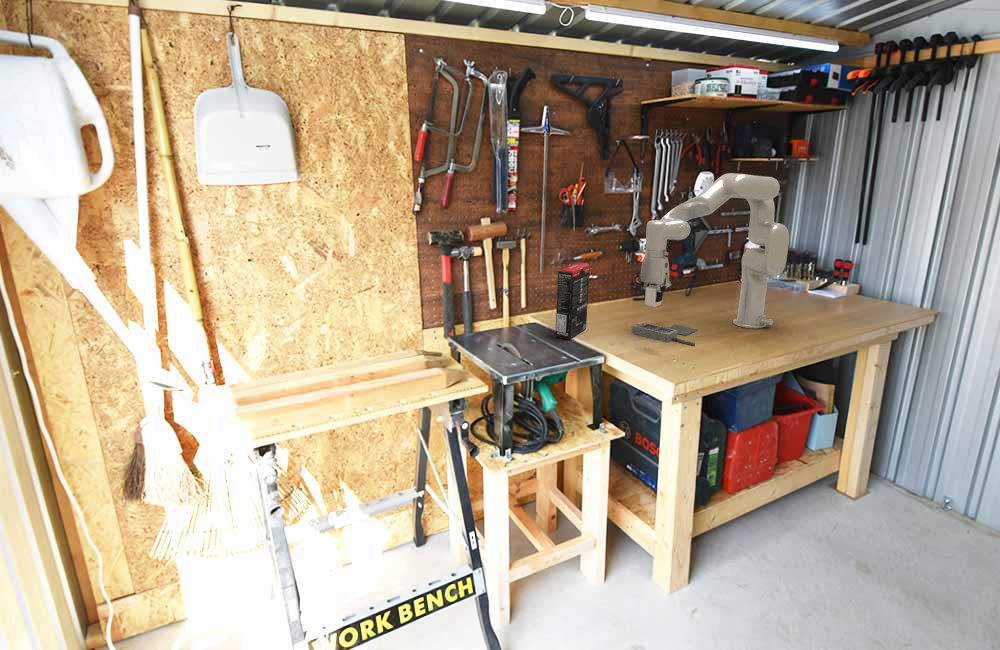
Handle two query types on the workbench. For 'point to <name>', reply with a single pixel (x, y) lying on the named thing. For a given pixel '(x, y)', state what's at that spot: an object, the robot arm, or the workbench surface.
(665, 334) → the power strip
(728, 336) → the workbench surface
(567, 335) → the graphics card box
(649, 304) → the block
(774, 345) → the workbench surface
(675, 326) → the mat
